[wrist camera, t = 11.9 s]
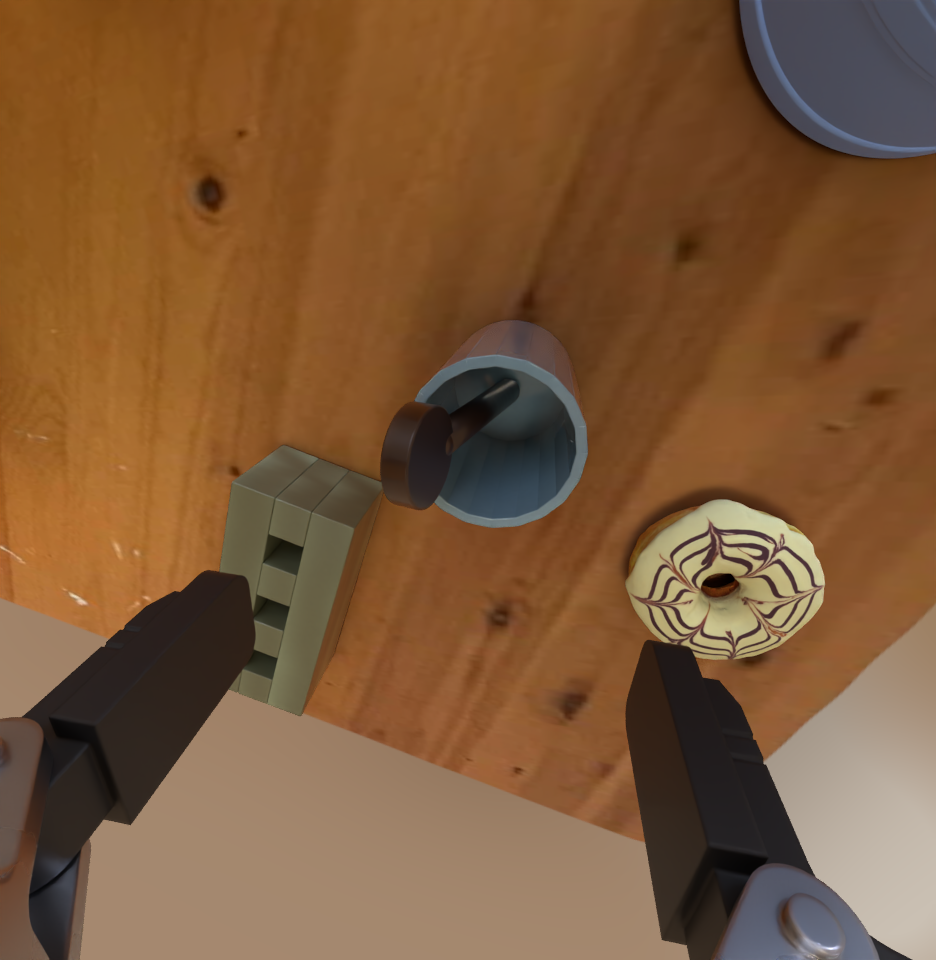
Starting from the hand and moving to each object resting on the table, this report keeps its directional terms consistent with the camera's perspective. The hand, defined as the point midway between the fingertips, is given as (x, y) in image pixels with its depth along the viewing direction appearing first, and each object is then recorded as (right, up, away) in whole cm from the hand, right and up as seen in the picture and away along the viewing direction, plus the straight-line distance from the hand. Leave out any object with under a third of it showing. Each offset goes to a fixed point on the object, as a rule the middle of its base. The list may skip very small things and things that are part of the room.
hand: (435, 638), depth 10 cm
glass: (+3, +9, +19) cm, 21 cm away
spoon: (+3, +8, +18) cm, 21 cm away
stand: (-11, -3, +27) cm, 29 cm away
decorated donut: (+16, -2, +22) cm, 28 cm away
